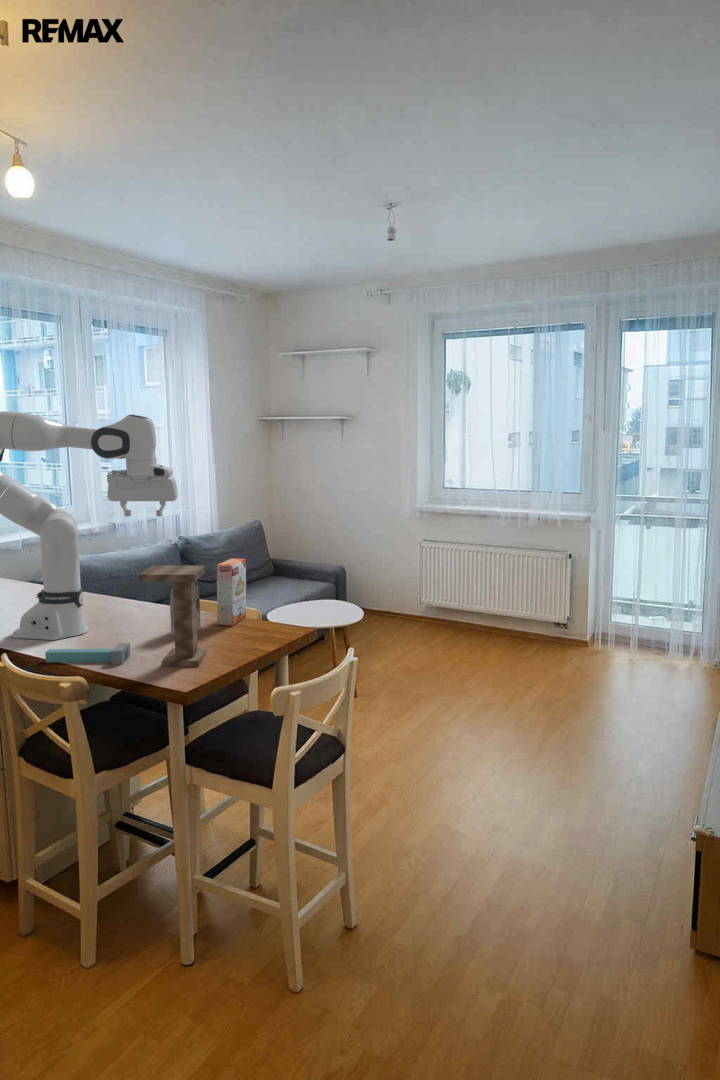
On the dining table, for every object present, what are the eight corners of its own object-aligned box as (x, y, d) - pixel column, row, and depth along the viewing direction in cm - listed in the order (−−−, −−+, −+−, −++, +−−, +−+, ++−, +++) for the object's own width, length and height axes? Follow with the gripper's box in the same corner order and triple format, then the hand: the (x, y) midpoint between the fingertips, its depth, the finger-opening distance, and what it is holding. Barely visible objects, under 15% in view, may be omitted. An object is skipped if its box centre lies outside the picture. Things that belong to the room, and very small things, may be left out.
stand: (142, 667, 200) (139, 574, 196) (155, 652, 213) (152, 565, 210) (197, 667, 200) (195, 574, 196) (207, 652, 214) (204, 565, 210)
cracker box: (234, 626, 243) (232, 565, 240) (216, 625, 244) (215, 564, 241) (247, 616, 257) (246, 558, 254) (231, 615, 258) (230, 557, 255)
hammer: (42, 665, 202) (41, 651, 201) (53, 656, 210) (52, 643, 209) (122, 665, 203) (121, 651, 202) (130, 656, 210) (129, 643, 210)
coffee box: (183, 628, 241) (181, 580, 239) (201, 629, 240) (199, 581, 238) (170, 635, 233) (168, 585, 230) (189, 636, 231) (187, 586, 229)
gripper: (103, 470, 213) (105, 517, 215) (173, 470, 214) (174, 517, 216) (110, 469, 220) (112, 515, 222) (178, 469, 220) (179, 515, 222)
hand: (143, 516), depth 219 cm, fingers open, 8 cm apart
